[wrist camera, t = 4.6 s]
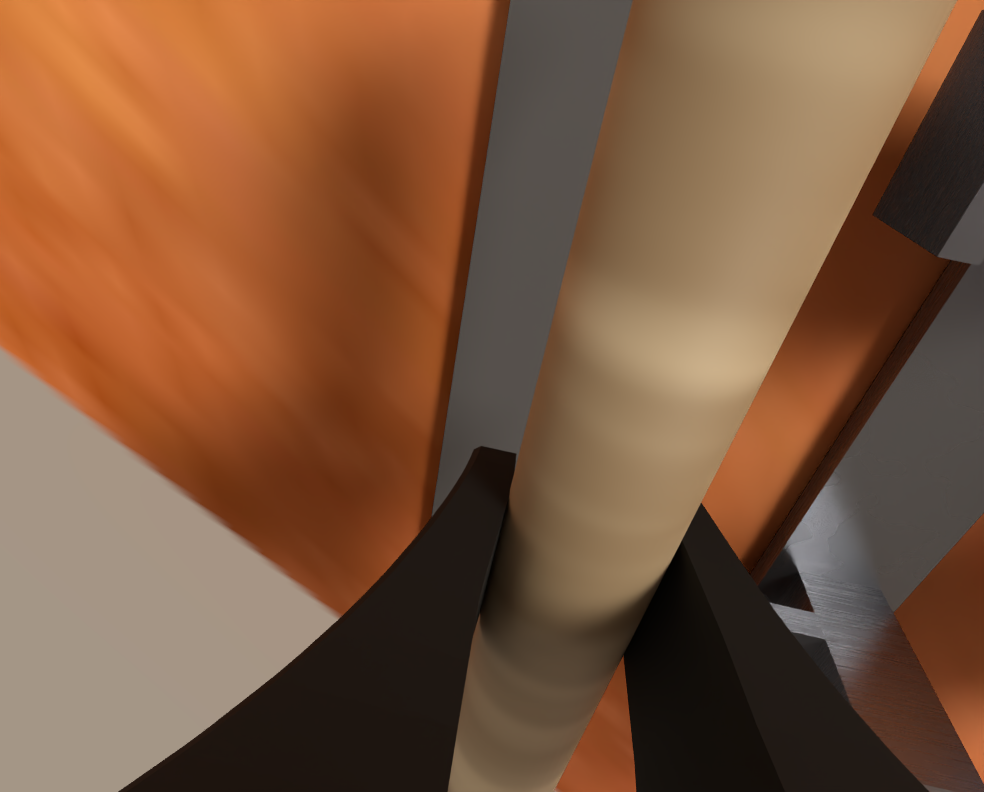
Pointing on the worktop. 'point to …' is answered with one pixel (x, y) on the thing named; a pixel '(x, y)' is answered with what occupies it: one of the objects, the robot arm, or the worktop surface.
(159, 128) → the worktop surface
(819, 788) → the robot arm
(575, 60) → the mat
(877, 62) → the tan wooden rod
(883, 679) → the hook standards
